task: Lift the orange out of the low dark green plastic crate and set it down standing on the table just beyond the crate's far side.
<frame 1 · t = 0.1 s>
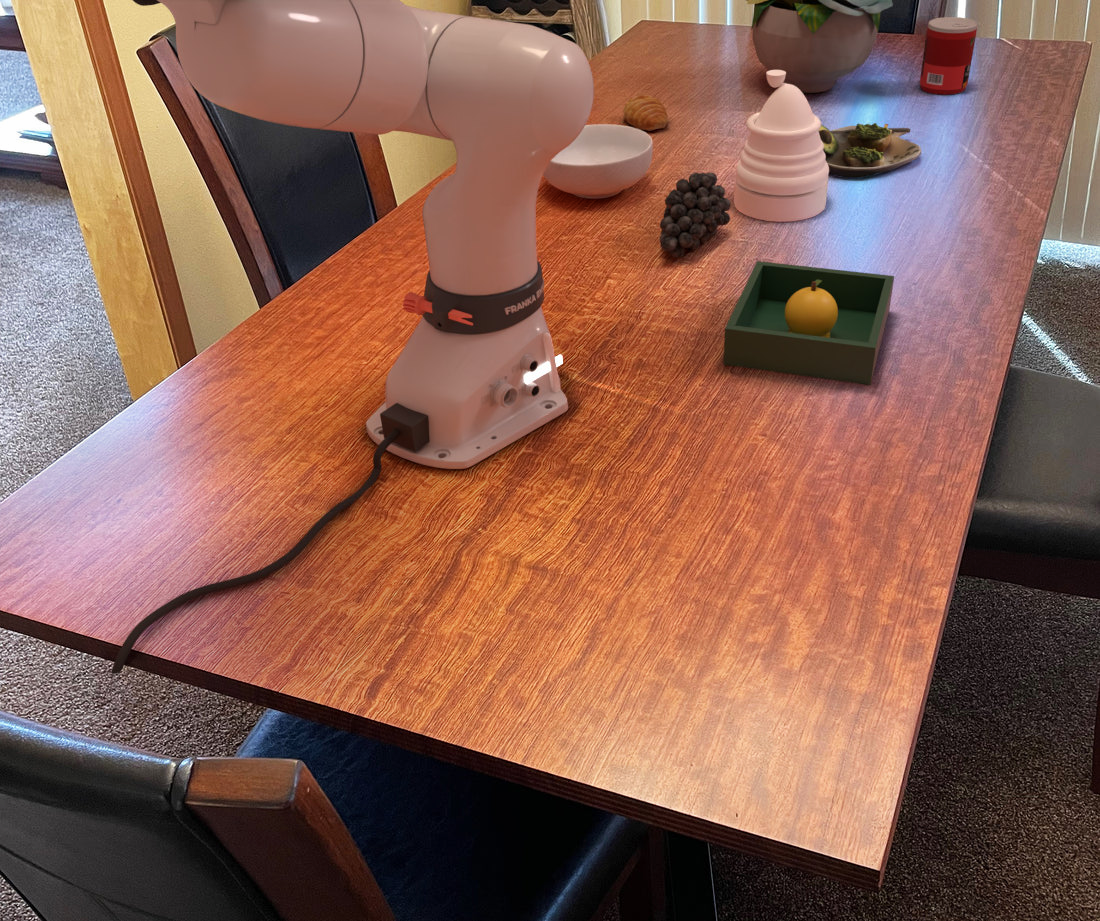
honey pot: (779, 204, 158), on the table
orange: (808, 336, 126), point 1 cm above the table, touching crate
pastry: (647, 123, 188), on the table
canned food: (942, 89, 194), on the table
fruit: (685, 244, 149), on the table
crate: (808, 342, 126), on the table
flower arrangement: (808, 87, 198), on the table
cereal bowl: (596, 190, 166), on the table
salad plate: (852, 158, 170), on the table
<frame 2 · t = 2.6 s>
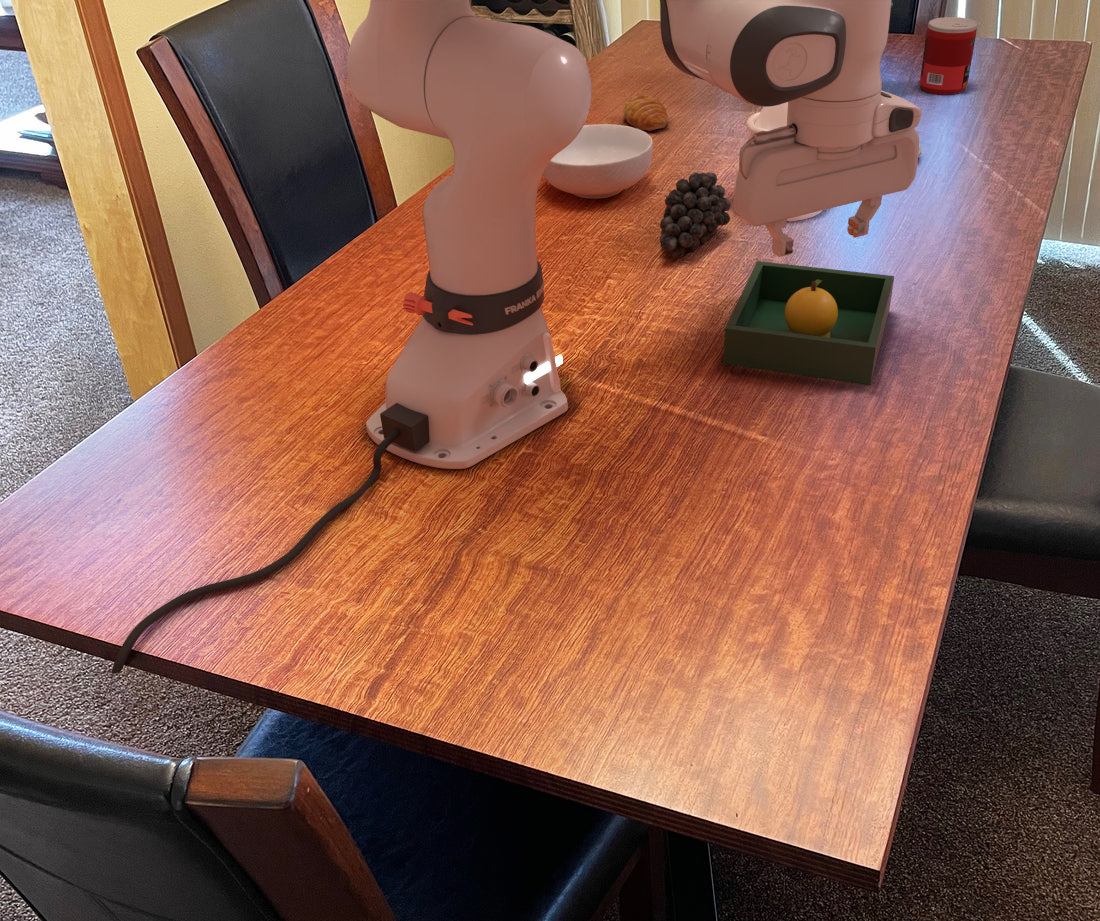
hand: (820, 244, 119), 12 cm above the table, tool pointing down, fingers open, 8 cm apart
nothing on the table moved.
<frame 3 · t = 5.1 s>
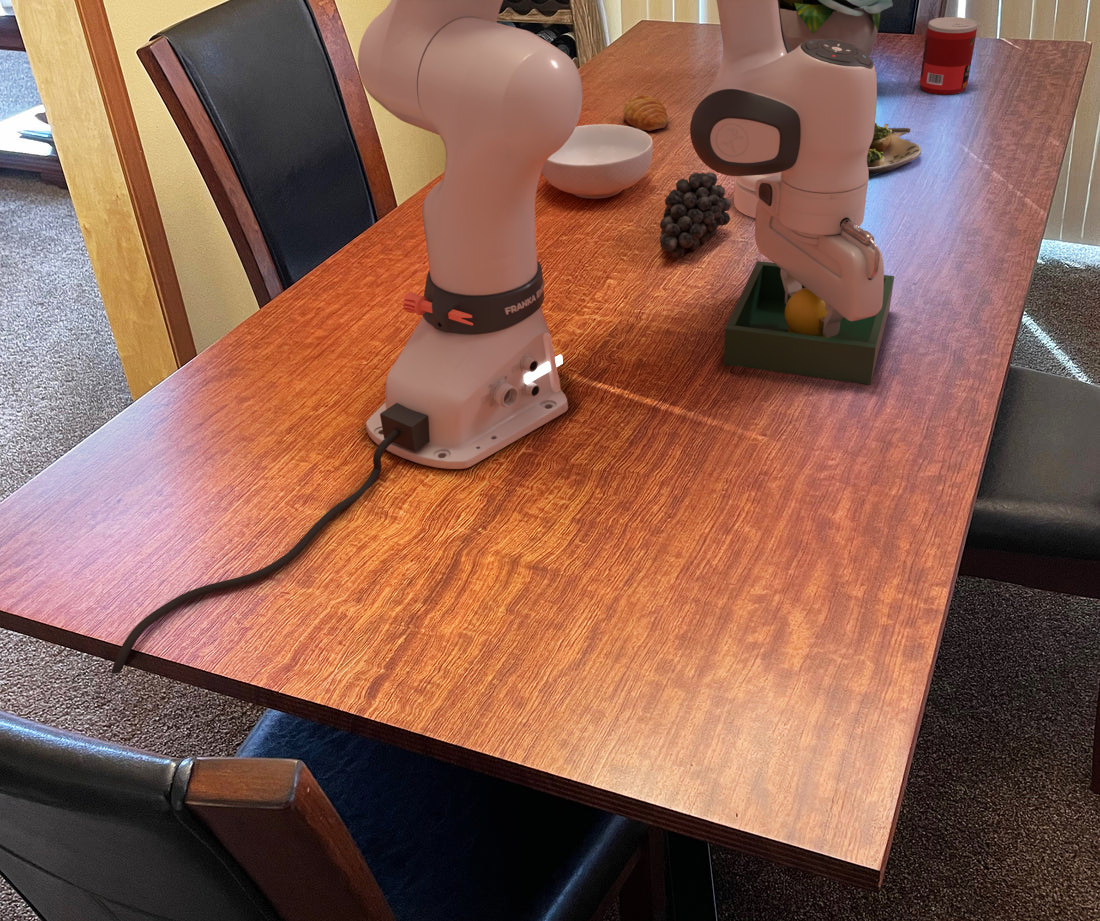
hand: (810, 319, 124), 3 cm above the table, tool pointing down, fingers closed on orange, 5 cm apart
orange: (808, 336, 126), point 1 cm above the table, touching crate, gripper
everything else where it was.
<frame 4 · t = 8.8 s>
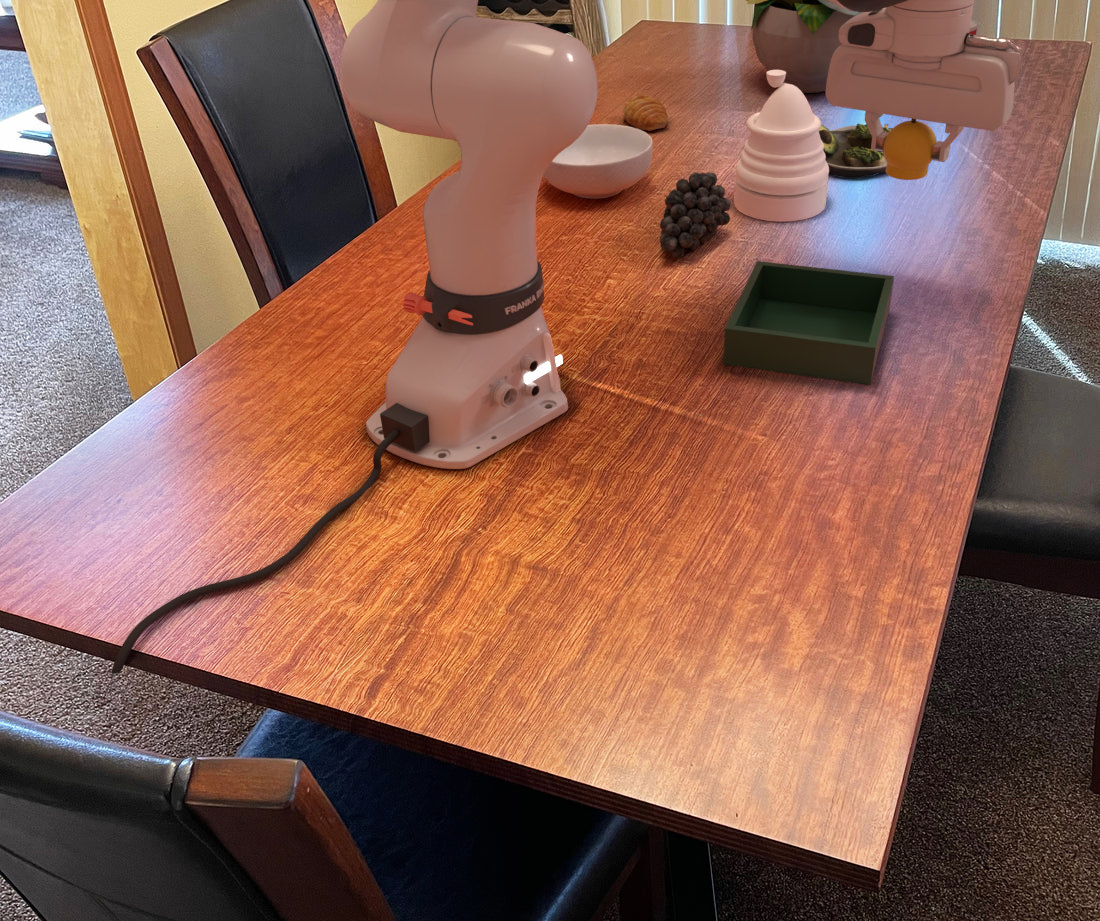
hand: (908, 154, 127), 17 cm above the table, tool pointing down, fingers closed on orange, 5 cm apart
orange: (906, 172, 128), point 14 cm above the table, touching gripper
everything else where it was.
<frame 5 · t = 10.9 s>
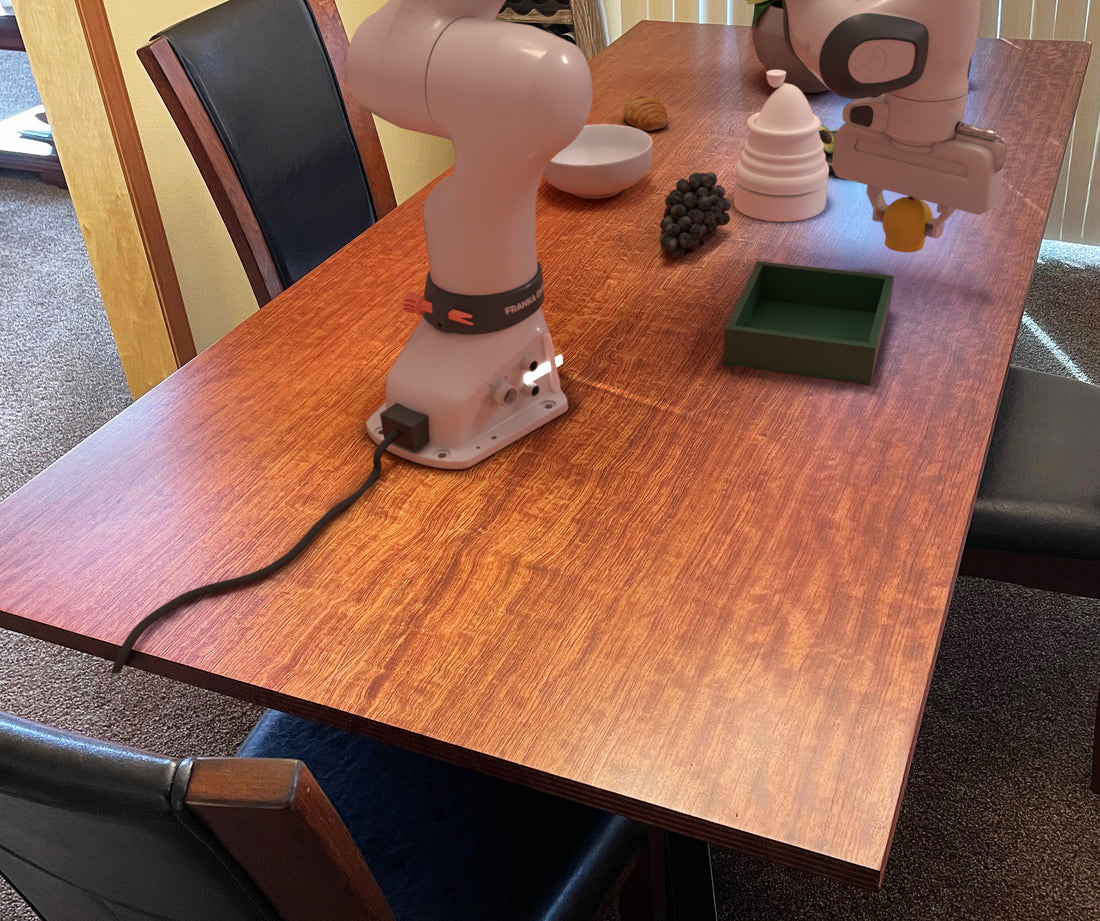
hand: (906, 228, 134), 7 cm above the table, tool pointing down, fingers closed on orange, 5 cm apart
orange: (904, 244, 135), point 5 cm above the table, touching gripper
everything else where it was.
when the fingers open (2 cm above the table, at t = 12.5 s): orange stays where it is, on the table.
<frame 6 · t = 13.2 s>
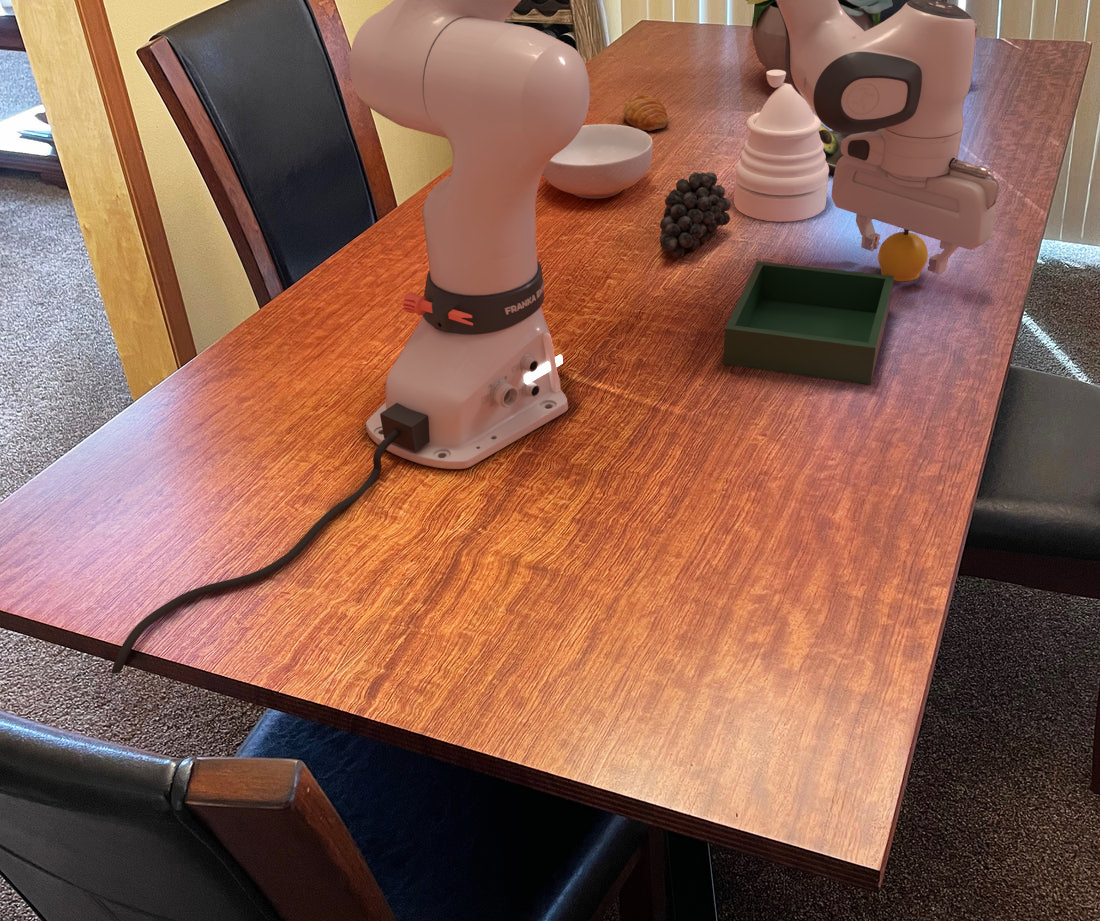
hand: (902, 259, 136), 3 cm above the table, tool pointing down, fingers open, 8 cm apart
orange: (899, 278, 138), on the table
everything else where it was.
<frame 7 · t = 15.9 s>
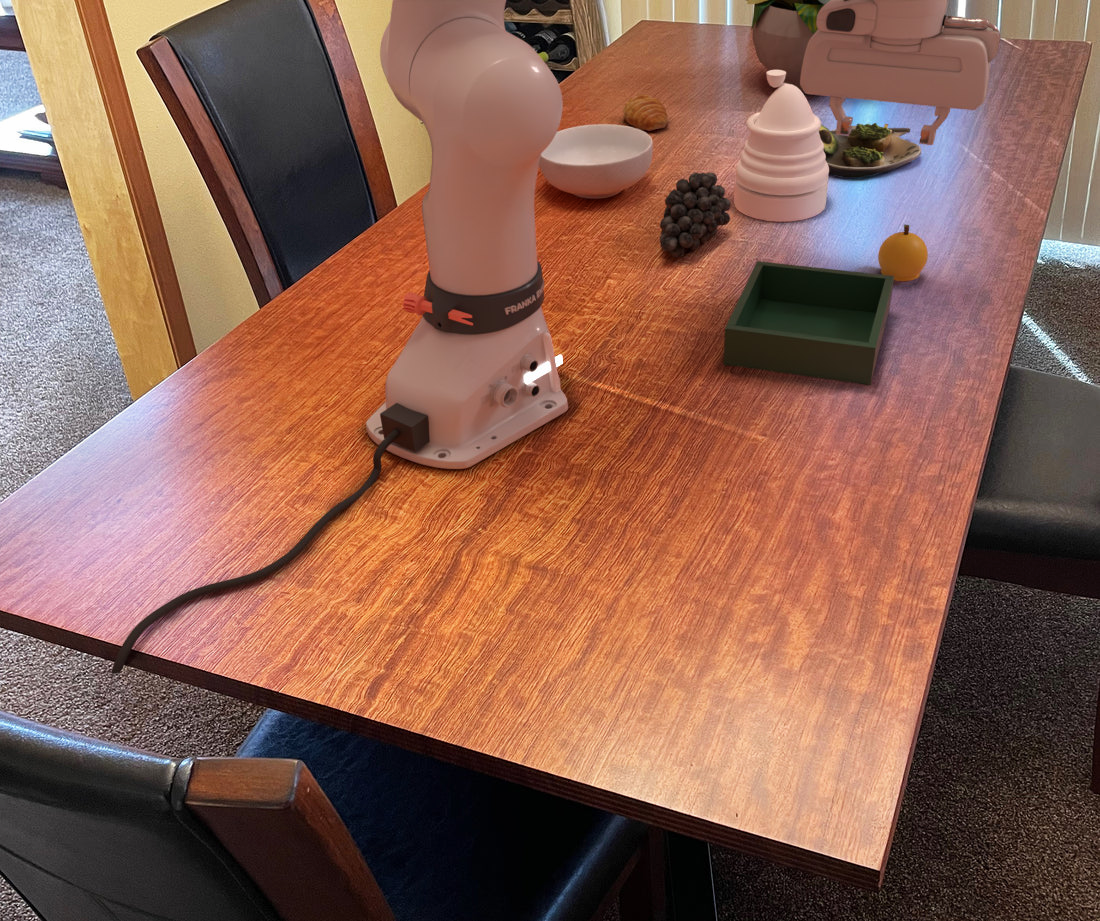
hand: (884, 138, 128), 18 cm above the table, tool pointing down, fingers open, 8 cm apart
nothing on the table moved.
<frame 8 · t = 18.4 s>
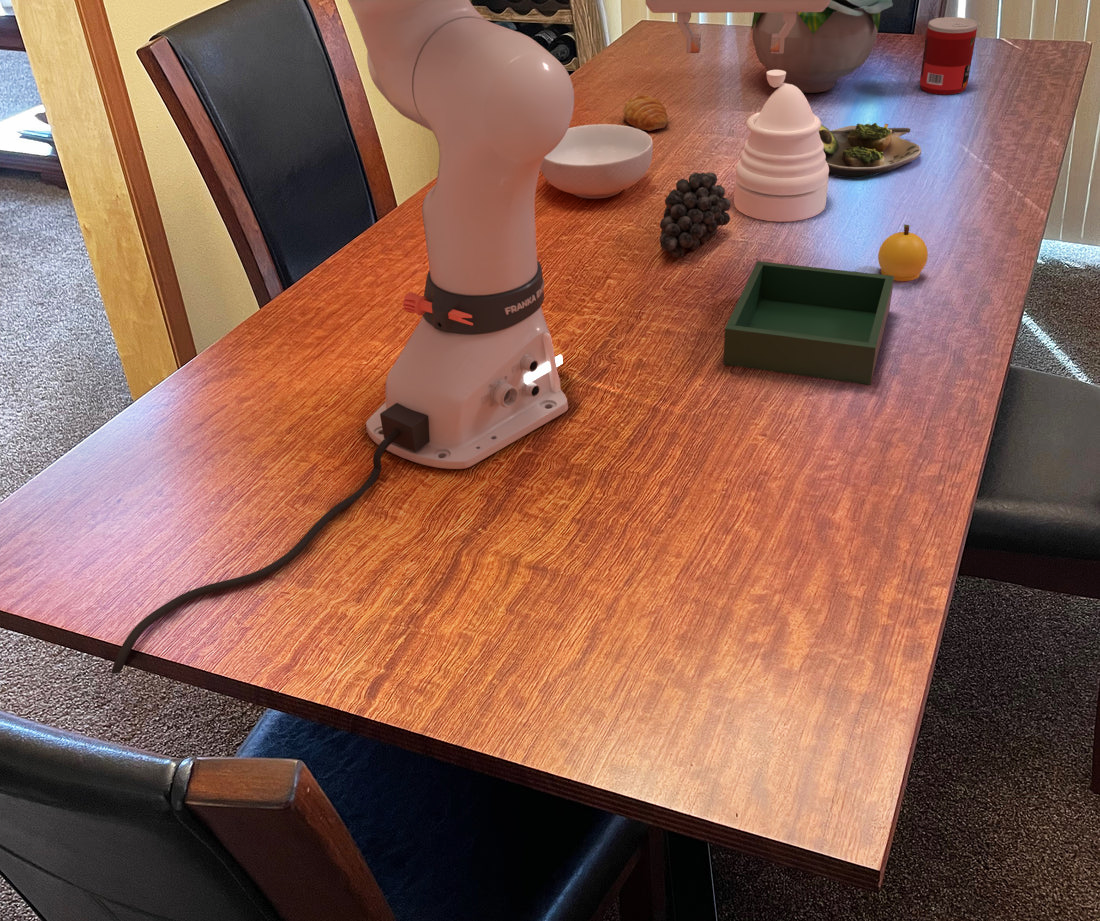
hand: (734, 52, 126), 27 cm above the table, tool pointing down, fingers open, 8 cm apart
nothing on the table moved.
at the end: orange inside the target area (0.1 cm from its centre), on the table; orange tilted 0°; orange touching table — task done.
